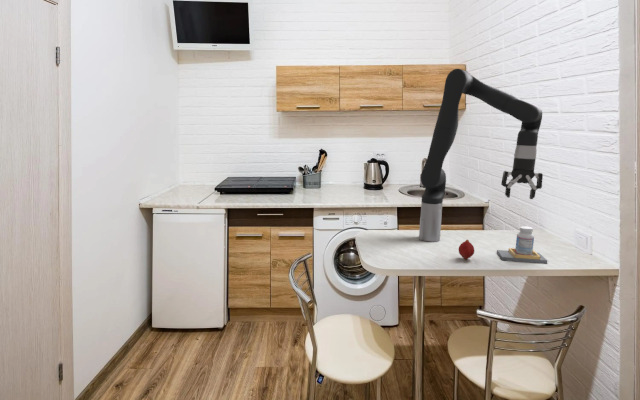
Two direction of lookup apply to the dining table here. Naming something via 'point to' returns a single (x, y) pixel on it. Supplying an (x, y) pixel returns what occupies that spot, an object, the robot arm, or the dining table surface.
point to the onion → (466, 249)
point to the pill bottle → (524, 241)
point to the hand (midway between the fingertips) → (519, 198)
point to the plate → (521, 256)
